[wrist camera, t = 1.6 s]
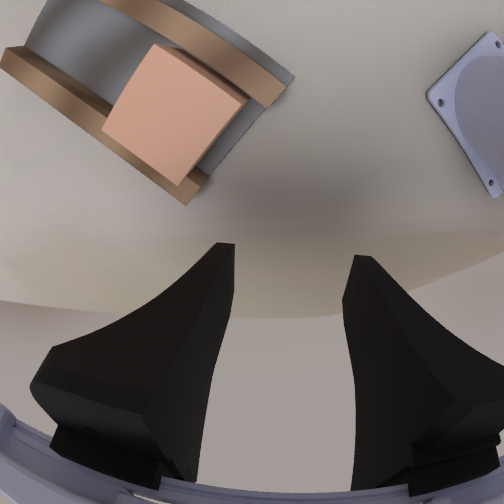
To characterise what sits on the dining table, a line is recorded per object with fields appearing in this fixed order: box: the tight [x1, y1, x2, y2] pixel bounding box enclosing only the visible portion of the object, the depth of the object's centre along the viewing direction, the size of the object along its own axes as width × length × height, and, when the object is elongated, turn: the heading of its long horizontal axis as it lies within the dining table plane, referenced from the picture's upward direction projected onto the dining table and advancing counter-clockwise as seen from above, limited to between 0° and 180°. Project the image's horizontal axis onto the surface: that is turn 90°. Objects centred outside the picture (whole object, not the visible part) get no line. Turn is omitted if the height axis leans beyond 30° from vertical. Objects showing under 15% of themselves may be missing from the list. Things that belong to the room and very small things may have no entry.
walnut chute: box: [0, 0, 294, 206], centre depth 14 cm, size 18×10×2 cm, turn 51°
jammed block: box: [101, 44, 251, 186], centre depth 14 cm, size 5×5×4 cm
